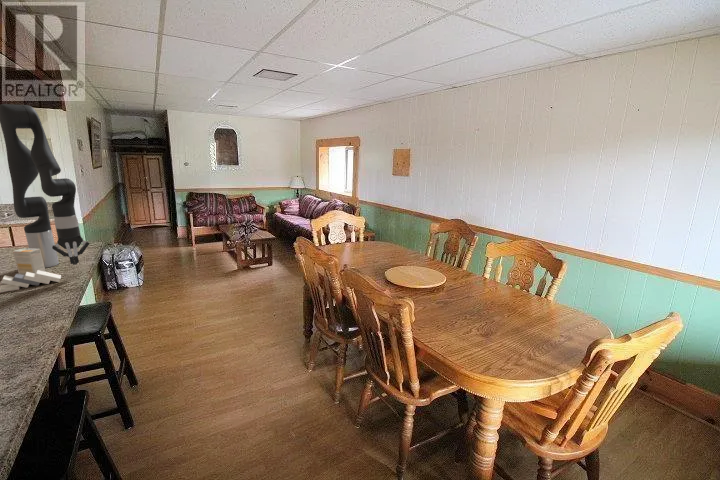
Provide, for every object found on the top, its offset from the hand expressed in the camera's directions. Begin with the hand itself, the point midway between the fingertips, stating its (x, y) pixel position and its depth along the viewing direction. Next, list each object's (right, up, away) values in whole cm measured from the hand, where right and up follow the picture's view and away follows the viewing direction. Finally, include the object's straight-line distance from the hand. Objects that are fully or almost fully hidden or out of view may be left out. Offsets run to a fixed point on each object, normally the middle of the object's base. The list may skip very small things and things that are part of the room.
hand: (75, 264), depth 148 cm
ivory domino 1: (-12, -8, -8) cm, 17 cm away
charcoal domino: (-10, -7, -6) cm, 14 cm away
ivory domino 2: (-14, -8, -10) cm, 19 cm away
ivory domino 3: (-7, -7, -5) cm, 11 cm away
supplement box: (-18, -6, 0) cm, 19 cm away
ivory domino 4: (-5, -6, -2) cm, 8 cm away
